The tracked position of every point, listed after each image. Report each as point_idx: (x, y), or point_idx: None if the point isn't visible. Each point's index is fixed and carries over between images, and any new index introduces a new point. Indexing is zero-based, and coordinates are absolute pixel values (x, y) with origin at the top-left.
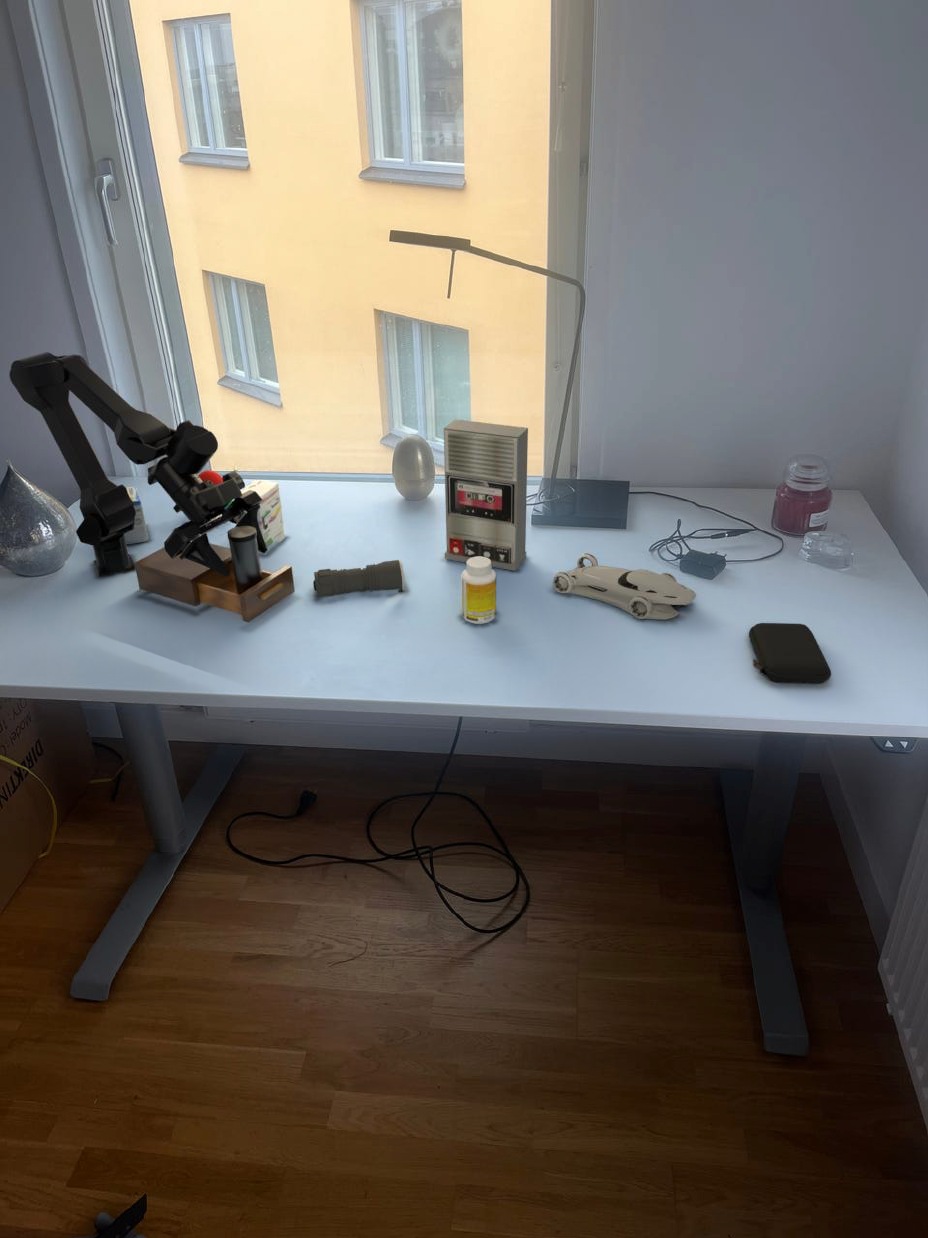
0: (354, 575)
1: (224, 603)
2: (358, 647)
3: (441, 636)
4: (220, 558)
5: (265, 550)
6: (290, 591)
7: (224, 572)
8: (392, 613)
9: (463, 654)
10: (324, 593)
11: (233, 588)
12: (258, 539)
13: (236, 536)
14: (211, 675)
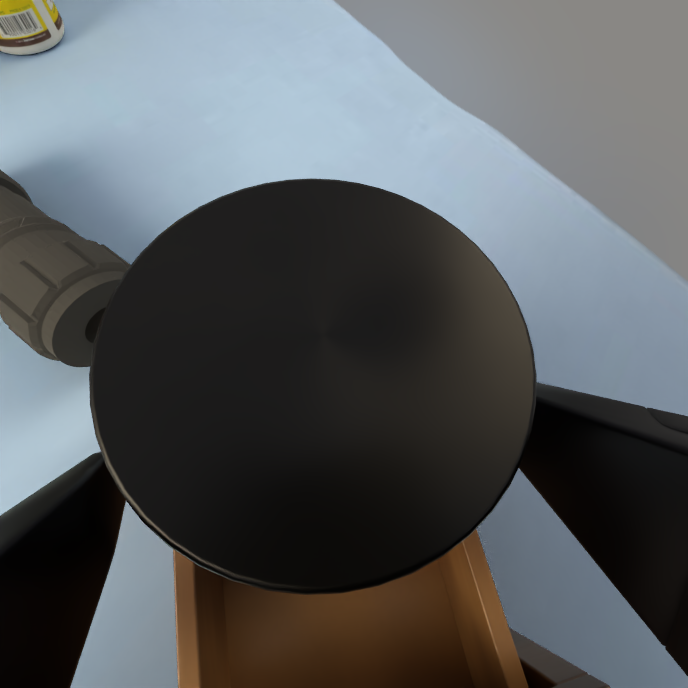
0: (8, 202)
1: None
2: (280, 129)
3: (143, 52)
4: (568, 408)
5: None
6: None
7: None
8: (103, 154)
9: (180, 11)
10: None
11: (296, 642)
12: (53, 525)
13: (469, 268)
14: (590, 270)
